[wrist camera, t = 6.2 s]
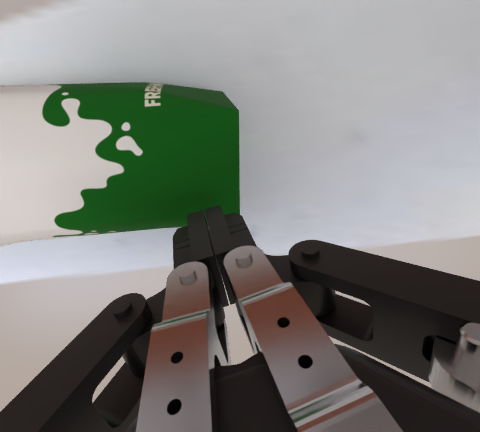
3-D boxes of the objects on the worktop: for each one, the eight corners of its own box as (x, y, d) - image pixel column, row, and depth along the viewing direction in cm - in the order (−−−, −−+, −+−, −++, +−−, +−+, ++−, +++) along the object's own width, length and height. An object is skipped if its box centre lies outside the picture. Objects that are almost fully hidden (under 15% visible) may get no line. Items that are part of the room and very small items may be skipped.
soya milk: (225, 186, 26) (-26, 206, 23) (221, 73, 22) (-93, 81, 19) (242, 244, 19) (-124, 283, 16) (242, 90, 14) (-275, 107, 11)
